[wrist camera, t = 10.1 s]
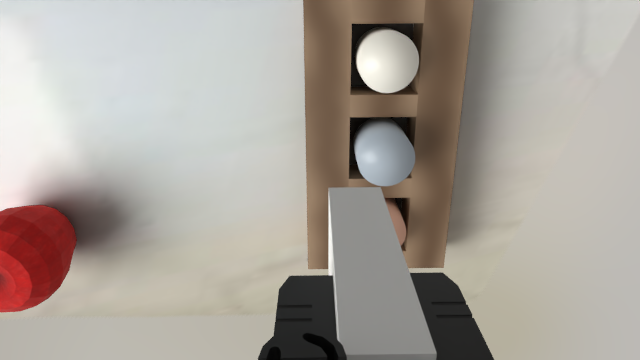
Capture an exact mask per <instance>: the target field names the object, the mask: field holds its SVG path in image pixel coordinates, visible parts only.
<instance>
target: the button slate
mask: <svg viewBox="0 0 640 360" xmlns="http://www.w3.org/2000/svg"><path fill="white" fill-rule="evenodd" d="M353 147H354V152H355V156H356V160H357V164H358V168H359V170H360V172H361V174H362V176H363V177H364V178H365V179H366V180H367V181H369V182H370V183H372V184H375V185H378V186H391V185H395V184H397V183H400V182H401V181H403V180H404V179H405V178H406V177H407V176H408V175H409V174H410V173H411V171H412V169H413V167H414V164H415V151H414V148H413V146H412V144H411V143H410V141H409V140H408V138H407V136H406V135H405V133H404V132H403V130H402V129H401V127H400V126H399V125H398V124H397V123H396V122H395V121H393V120H392V119H389V118H386V117H375V118H371V119H369V120H367V121H365V122H364V123H362V124H361V125H360V126H359V128H358V129H357V130H356V132H355V135H354V138H353Z"/></svg>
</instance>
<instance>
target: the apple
mask: <svg viewBox="0 0 640 360" xmlns="http://www.w3.org/2000/svg"><path fill="white" fill-rule="evenodd" d="M76 241H77V239H76V235H75V231H74V228H73V226H72V225H71V223H70V221H69V220H68V218H67V217H66V216H64V215H63V214H62V213H60V212H59V211H58V210H57V209H55V208H51V207H47V206H44V205H31V206H22V207H15V208H8V209H5V210H3V211H0V312H16V311H22V310H25V309H28V308H31V307H34V306H37V305H38V304H40V303H41V302H43V301H45V300H46V299H48V298H49V297H50V296H51V295H52V294H53V293H54V292H55V291H56V290H57V289H58V288H59V287H60V286H61V284H62V282H63V280H64V279H65V277H66V275H67V273H68V271H69V268H70V264H71V260H72V255H73V252H74V248H75V245H76Z"/></svg>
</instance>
